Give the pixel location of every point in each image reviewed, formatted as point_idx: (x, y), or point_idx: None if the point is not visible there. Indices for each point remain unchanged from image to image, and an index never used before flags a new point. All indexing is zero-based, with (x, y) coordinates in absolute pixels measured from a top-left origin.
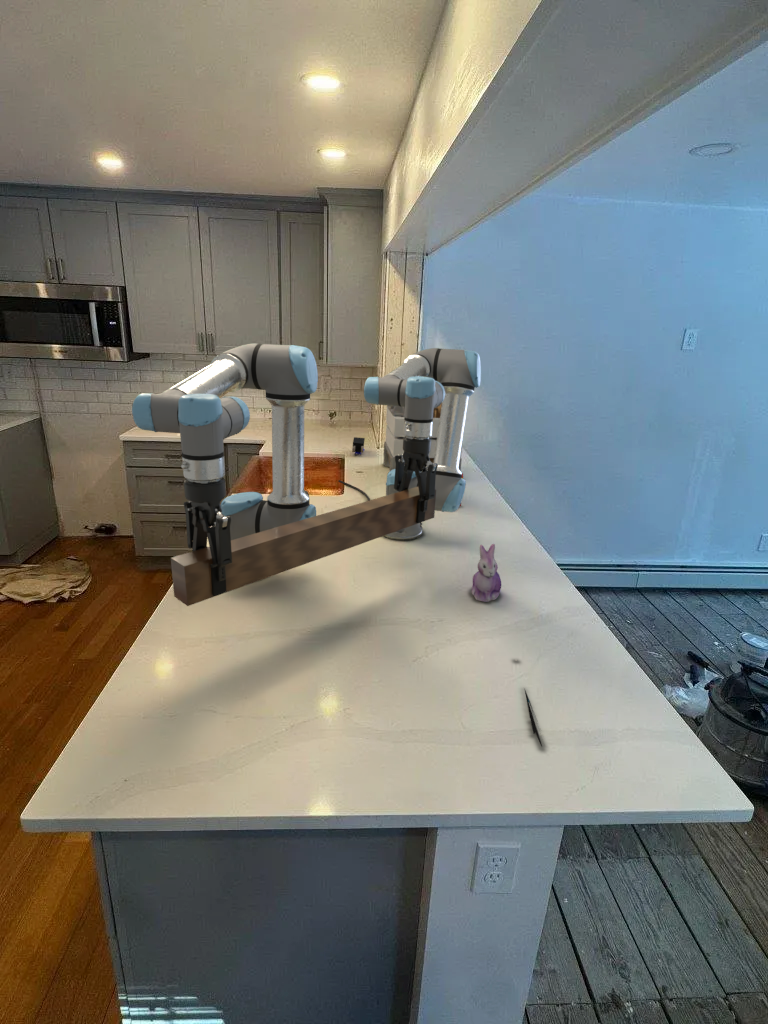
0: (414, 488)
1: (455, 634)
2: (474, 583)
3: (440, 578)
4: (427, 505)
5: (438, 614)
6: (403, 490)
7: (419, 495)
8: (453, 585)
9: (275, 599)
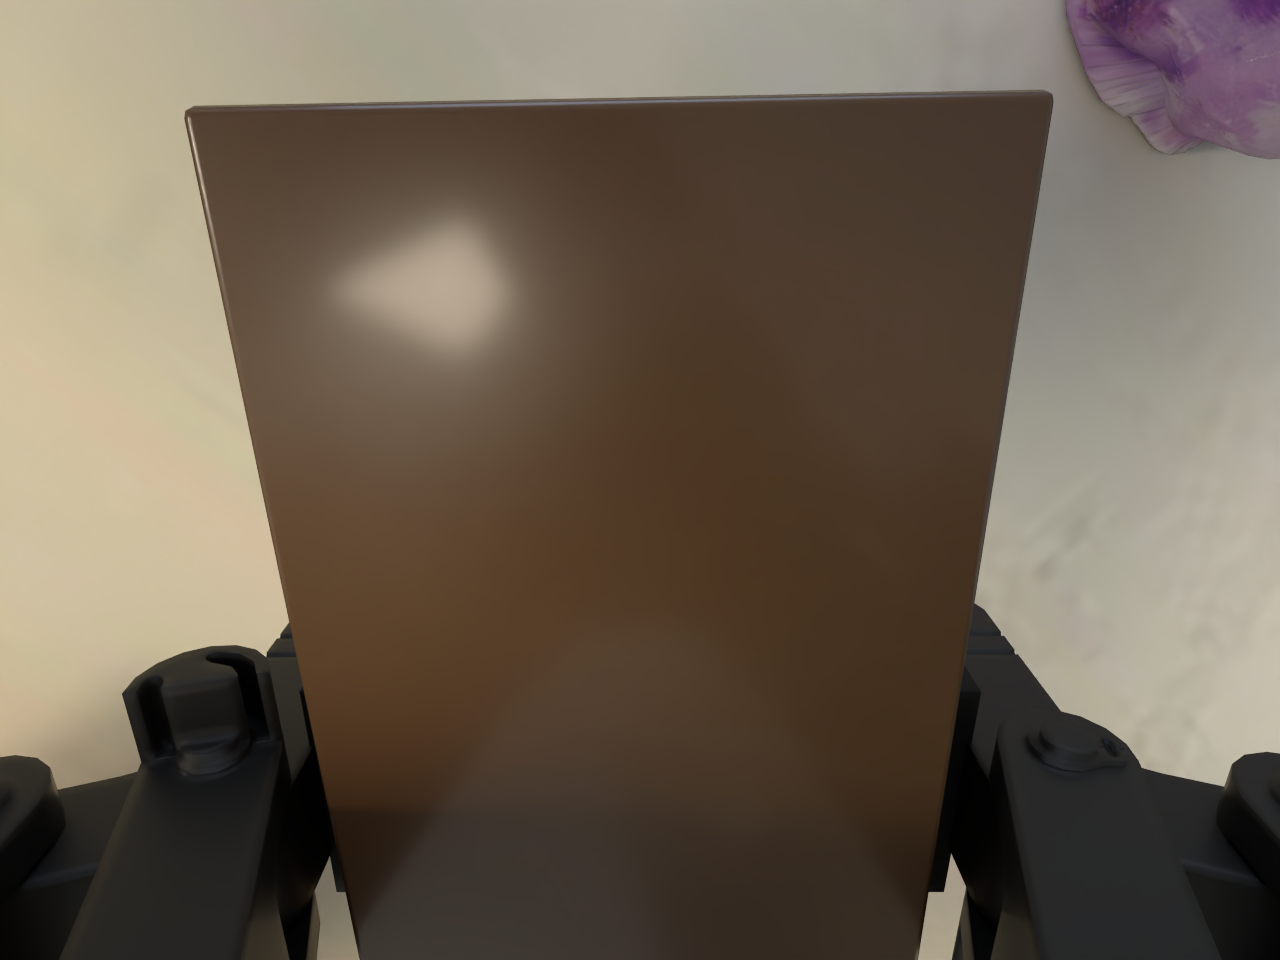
0: (382, 671)
1: (1210, 575)
2: (1186, 117)
3: (762, 59)
4: (1021, 660)
5: (1034, 488)
6: (282, 908)
7: (912, 934)
8: (907, 79)
9: (340, 929)
